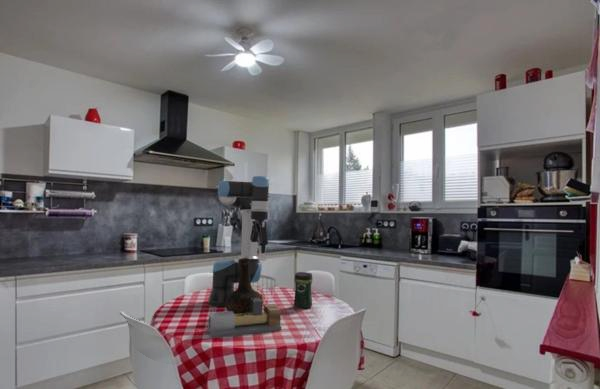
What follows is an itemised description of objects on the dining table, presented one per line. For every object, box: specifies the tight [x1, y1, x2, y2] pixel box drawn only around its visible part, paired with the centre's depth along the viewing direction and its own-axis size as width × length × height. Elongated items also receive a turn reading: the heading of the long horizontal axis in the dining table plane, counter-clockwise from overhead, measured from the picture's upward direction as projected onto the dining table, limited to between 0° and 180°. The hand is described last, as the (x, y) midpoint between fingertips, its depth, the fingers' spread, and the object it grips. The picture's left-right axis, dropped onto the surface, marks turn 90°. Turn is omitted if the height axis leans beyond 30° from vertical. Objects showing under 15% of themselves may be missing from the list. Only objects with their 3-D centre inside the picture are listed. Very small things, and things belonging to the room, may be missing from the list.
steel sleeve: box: [207, 310, 235, 332], centre depth 145 cm, size 6×10×6 cm, turn 113°
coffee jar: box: [293, 271, 313, 309], centre depth 185 cm, size 10×8×19 cm
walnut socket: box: [263, 303, 282, 327], centre depth 153 cm, size 9×5×7 cm, turn 23°
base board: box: [206, 323, 282, 339], centre depth 148 cm, size 12×30×2 cm, turn 113°
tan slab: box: [235, 298, 268, 326], centre depth 150 cm, size 6×21×10 cm, turn 113°
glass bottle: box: [225, 258, 264, 314], centre depth 167 cm, size 18×18×28 cm
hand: (257, 258), depth 151 cm, fingers open, 13 cm apart
